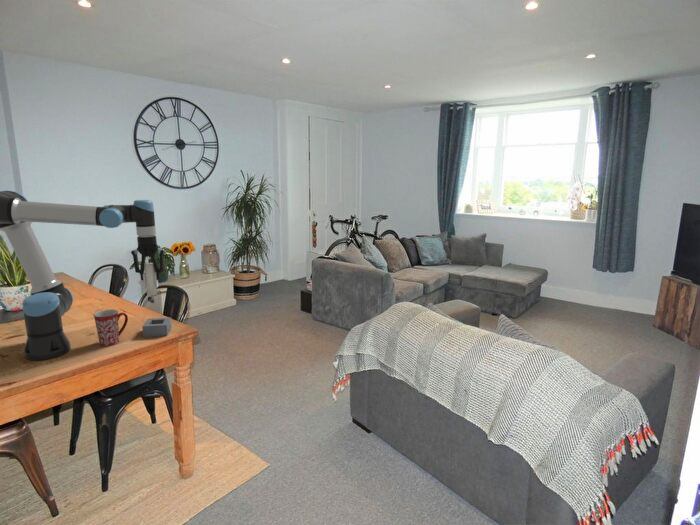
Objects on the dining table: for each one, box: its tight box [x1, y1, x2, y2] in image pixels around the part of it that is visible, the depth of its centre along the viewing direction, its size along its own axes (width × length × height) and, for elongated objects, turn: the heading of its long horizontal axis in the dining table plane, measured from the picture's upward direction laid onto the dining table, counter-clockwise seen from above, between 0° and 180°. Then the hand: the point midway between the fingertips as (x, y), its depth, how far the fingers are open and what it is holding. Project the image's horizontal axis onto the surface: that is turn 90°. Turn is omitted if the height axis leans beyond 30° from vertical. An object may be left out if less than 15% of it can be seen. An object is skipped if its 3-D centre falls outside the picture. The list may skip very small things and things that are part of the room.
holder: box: [141, 317, 173, 338], centre depth 191 cm, size 10×10×5 cm
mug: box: [93, 309, 129, 347], centre depth 179 cm, size 13×9×14 cm
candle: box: [144, 262, 157, 296], centre depth 188 cm, size 4×4×15 cm
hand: (151, 287), depth 189 cm, fingers closed on candle, 4 cm apart
